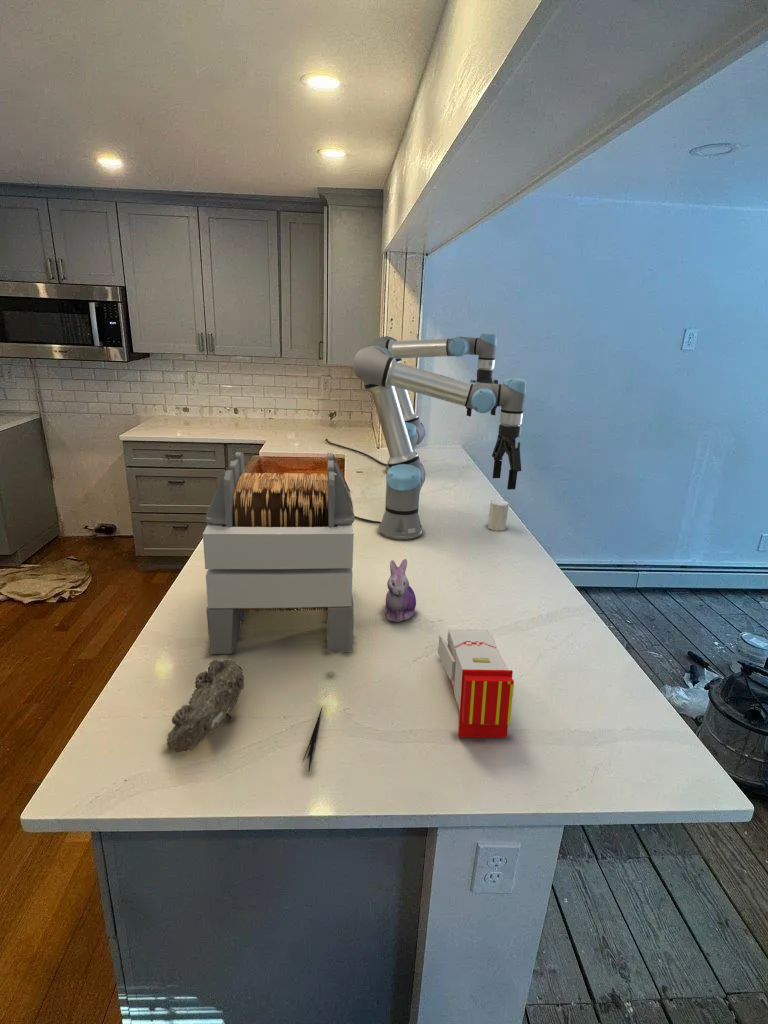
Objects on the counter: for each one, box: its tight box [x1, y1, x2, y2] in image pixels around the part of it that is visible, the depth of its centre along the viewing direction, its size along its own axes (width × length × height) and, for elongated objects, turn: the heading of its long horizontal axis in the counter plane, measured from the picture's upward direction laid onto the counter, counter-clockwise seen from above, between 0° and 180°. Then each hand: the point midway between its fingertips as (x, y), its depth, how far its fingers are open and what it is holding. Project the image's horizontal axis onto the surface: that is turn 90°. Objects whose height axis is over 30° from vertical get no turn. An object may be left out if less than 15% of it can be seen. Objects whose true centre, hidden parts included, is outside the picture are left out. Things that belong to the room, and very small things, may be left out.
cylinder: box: [487, 499, 510, 532], centre depth 208 cm, size 7×7×10 cm
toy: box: [437, 628, 515, 738], centre depth 117 cm, size 12×13×30 cm
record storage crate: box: [202, 451, 355, 655], centre depth 137 cm, size 34×33×41 cm
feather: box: [301, 673, 332, 771], centre depth 108 cm, size 2×28×2 cm
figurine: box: [384, 558, 417, 623], centre depth 145 cm, size 9×10×15 cm
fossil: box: [166, 658, 245, 754], centre depth 106 cm, size 22×10×15 cm
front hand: (503, 483), depth 203 cm, fingers open, 13 cm apart
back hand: (480, 415), depth 266 cm, fingers open, 13 cm apart
